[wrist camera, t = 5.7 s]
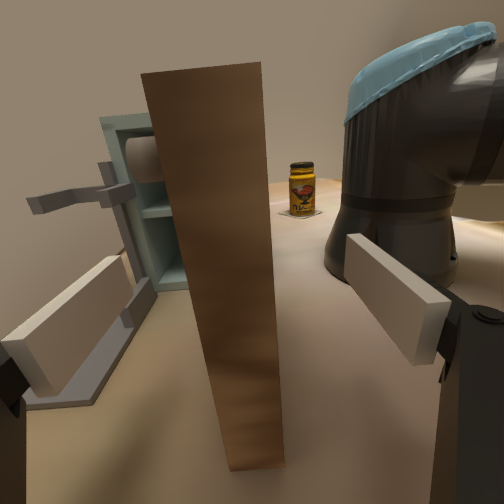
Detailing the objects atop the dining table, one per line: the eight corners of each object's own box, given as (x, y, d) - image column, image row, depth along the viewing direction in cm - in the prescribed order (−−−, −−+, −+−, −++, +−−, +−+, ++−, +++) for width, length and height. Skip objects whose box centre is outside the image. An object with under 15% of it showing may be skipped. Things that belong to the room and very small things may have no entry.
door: (266, 314, 25) (250, 119, 18) (284, 467, 13) (260, 61, 6) (226, 318, 25) (194, 125, 18) (208, 472, 13) (92, 79, 6)
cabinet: (254, 239, 46) (244, 120, 38) (268, 390, 17) (237, 36, 9) (152, 248, 46) (120, 132, 38) (0, 412, 17) (-255, 86, 9)
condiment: (302, 219, 55) (302, 164, 50) (277, 214, 61) (275, 164, 57) (323, 212, 59) (324, 160, 54) (297, 208, 65) (297, 161, 60)
